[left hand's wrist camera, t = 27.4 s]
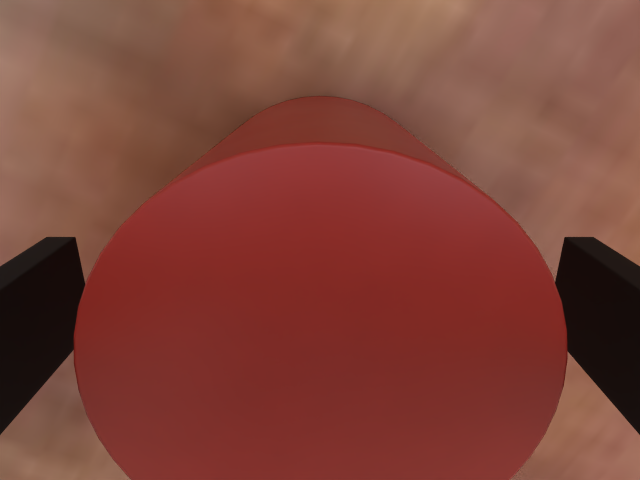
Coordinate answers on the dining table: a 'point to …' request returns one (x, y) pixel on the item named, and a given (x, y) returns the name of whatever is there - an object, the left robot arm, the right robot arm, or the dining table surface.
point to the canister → (320, 314)
